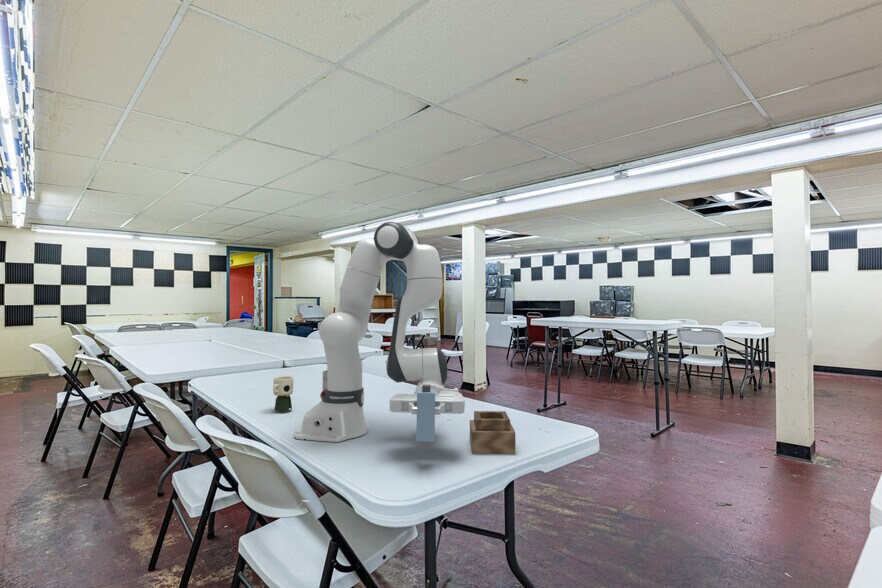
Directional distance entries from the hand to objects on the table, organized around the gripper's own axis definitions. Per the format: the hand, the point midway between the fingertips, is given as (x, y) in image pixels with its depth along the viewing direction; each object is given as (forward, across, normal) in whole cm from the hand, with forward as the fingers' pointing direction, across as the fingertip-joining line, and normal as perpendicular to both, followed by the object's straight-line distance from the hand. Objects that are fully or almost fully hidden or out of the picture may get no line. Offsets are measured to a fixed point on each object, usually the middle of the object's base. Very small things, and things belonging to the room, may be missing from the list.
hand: (425, 411), depth 105 cm
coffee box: (-53, -38, +15) cm, 67 cm away
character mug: (-53, -58, +16) cm, 80 cm away
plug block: (-1, 0, +7) cm, 7 cm away
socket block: (-16, +18, +14) cm, 28 cm away
